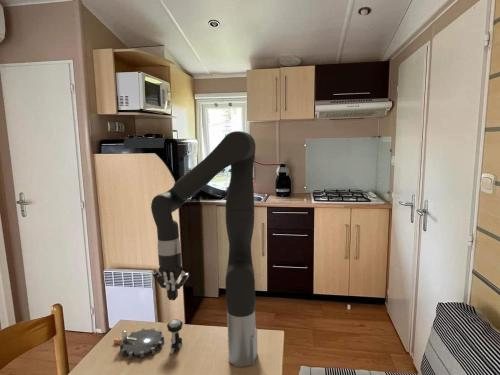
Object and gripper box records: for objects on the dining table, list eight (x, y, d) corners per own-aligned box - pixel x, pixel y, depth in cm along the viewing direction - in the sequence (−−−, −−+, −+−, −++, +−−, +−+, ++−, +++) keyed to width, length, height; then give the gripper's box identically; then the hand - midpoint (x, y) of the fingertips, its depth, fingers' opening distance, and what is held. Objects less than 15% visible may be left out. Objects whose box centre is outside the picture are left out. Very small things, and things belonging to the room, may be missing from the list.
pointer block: (124, 341, 115) (123, 337, 115) (120, 344, 113) (120, 341, 113) (117, 340, 116) (116, 336, 116) (113, 343, 114) (113, 340, 114)
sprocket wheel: (171, 335, 118) (170, 320, 117) (150, 361, 103) (149, 345, 103) (136, 330, 121) (134, 316, 120) (111, 356, 107) (109, 340, 106)
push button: (178, 356, 106) (176, 329, 105) (164, 354, 107) (162, 327, 106) (186, 344, 113) (184, 318, 111) (172, 342, 114) (171, 317, 113)
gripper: (145, 254, 103) (149, 303, 106) (182, 255, 100) (186, 306, 103) (157, 246, 111) (160, 292, 113) (192, 248, 108) (195, 295, 110)
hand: (172, 299), depth 108 cm, fingers closed
